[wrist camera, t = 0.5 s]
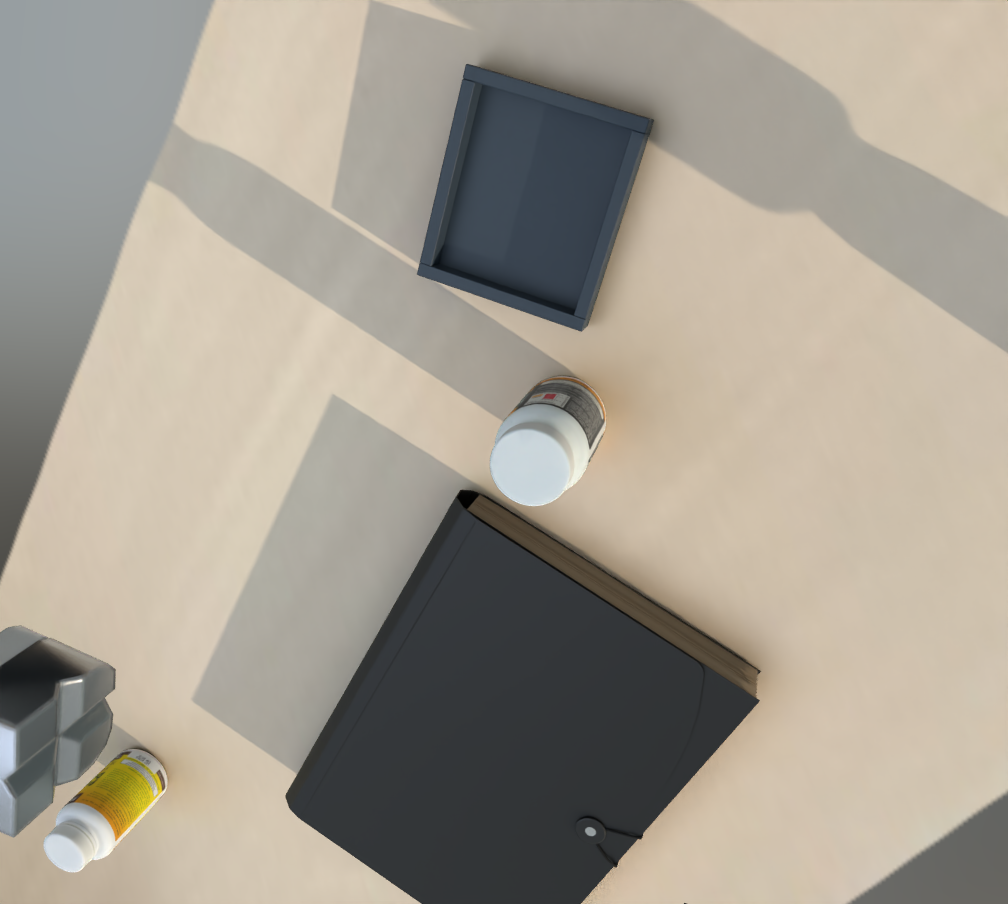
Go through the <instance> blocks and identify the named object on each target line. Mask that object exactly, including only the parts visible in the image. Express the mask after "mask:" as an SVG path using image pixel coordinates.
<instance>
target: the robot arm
mask: <svg viewBox="0 0 1008 904" xmlns="http://www.w3.org/2000/svg"><path fill="white" fill-rule="evenodd" d="M115 671H116V669H114V668H113V667H112V666H111V665H109V664H108V663H106V662H103V661H101V660H99V659H97V658H94V657H92V656H90V655H88V654H85V653H83V652H81V651H79V650H77V649H74V648H72V647H70V646H68V645H65V644H63V643H61V642H59V641H57V640H54V639H52V638H48V637H46V636H44V635H41V634H39V633H37V632H35V631H33V630H30V629H28V628H26V627H24V626H22V625H20V626H14V627H8V628H6V629H5V630H3V631H1V632H0V832H2V833H4V834H7V835H9V836H11V837H15V836H16V835H17V834H18V833H20V832H21V831H22V830H23V829H24V828H25V827H26V826H27V825H28V824H29V823H30V822H32V821H33V820H34V819H35V818H36V817H37V816H38V815H39V814H40V813H41V812H43V811H44V810H45V809H46V808H47V807H48V806H49V805H50V804H51V803H52V802H53V798H54V792H55V786H58V785H61V784H64V783H67V782H71V781H74V780H77V779H79V778H80V777H81V776H82V775H83V774H84V773H85V772H86V771H87V770H88V769H89V768H90V767H91V766H92V765H93V764H94V763H95V761H96V760H97V758H98V756H99V755H100V753H101V752H102V750H103V749H104V747H105V746H106V744H107V741H108V738H109V735H110V732H111V729H112V720H113V713H112V711H111V709H110V707H109V705H108V703H107V701H106V699H105V697H106V696H107V695H108V694H109V693H110V692H112V691H113V690H114V689H115ZM684 904H686V903H684Z"/></svg>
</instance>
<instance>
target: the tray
mask: <svg viewBox="0 0 1008 904" xmlns="http://www.w3.org/2000/svg"><path fill="white" fill-rule="evenodd" d="M463 78H464V79H463V80H462V84H461V88H460V92H459V97H458V101H457V105H456V110H455V114H454V118H453V123H452V127H451V131H450V135H449V140H448V144H447V148H446V153H445V157H444V161H443V165H442V170H441V174H440V178H439V183H438V187H437V191H436V196H435V200H434V204H433V208H432V213H431V217H430V221H429V226H428V230H427V234H426V239H425V243H424V247H423V251H422V256H421V260H420V262H421V263H420V264H419V268H418V273H417V275H419V276H422V277H425V278H428V279H431V280H434V281H437V282H440V283H443V284H445V285H448V286H451V287H454V288H457V289H460V290H463V291H466V292H469V293H471V294H474V295H477V296H480V297H483V298H486V299H489V300H492V301H494V302H497V303H500V304H503V305H506V306H509V307H512V308H515V309H518V310H520V311H523V312H526V313H529V314H532V315H535V316H538V317H541V318H543V319H546V320H549V321H552V322H555V323H558V324H561V325H564V326H567V327H569V328H572V329H575V330H578V331H581V332H582V331H583V330H584V329H585V328H586V326H587V325H588V323H589V320H590V317H591V314H592V311H593V308H594V304H595V301H596V298H597V295H598V292H599V289H600V286H601V283H602V280H603V277H604V273H605V270H606V267H607V264H608V261H609V258H610V255H611V252H612V249H613V246H614V243H615V239H616V236H617V233H618V230H619V227H620V224H621V221H622V218H623V215H624V212H625V208H626V205H627V202H628V199H629V196H630V193H631V190H632V187H633V184H634V181H635V177H636V174H637V171H638V168H639V165H640V162H641V159H642V156H643V153H644V150H645V146H646V143H647V140H648V137H649V134H650V131H651V128H652V125H653V122H654V120H652V119H649V118H646V117H643V116H639V115H636V114H633V113H629V112H626V111H623V110H619V109H616V108H613V107H609V106H606V105H603V104H599V103H596V102H593V101H590V100H586V99H583V98H580V97H576V96H573V95H570V94H566V93H563V92H560V91H556V90H553V89H550V88H546V87H543V86H540V85H537V84H533V83H530V82H527V81H523V80H520V79H517V78H513V77H510V76H507V75H503V74H500V73H497V72H494V71H490V70H487V69H484V68H480V67H477V66H473V65H469V64H466V67H465V71H464V75H463Z"/></svg>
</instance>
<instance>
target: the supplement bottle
mask: <svg viewBox="0 0 1008 904" xmlns="http://www.w3.org/2000/svg"><path fill="white" fill-rule="evenodd" d="M167 784H168V780H167V775H166V772H165V770H164V768H163V766H162V765H161V763H160V762H159V761H158V760H157V759H156V758H155V757H154V756H152V755H151V754H149V753H147V752H145V751H142V750H139V749H129V750H125V751H123V752H122V753H120V754H119V755H118V756H117V757H116V758H115V759H113V760H112V761H111V762H110V763H109V764H108V765H107V766H106V767H105V768H104V769H103V770H102V771H101V772H100V773H99V774H98V775H97V776H96V777H95V778H94V779H92V780H91V781H90V782H89V783H88V784H87V785H86V786H85V787H84V788H83V789H82V790H81V791H80V792H79V793H78V794H77V795H76V796H75V797H73V798H72V799H71V800H70V801H69V802H68V803H67V804H66V805H65V806H64V807H63V808H62V809H61V810H60V812H59V813H58V815H57V819H56V827H55V828H54V829H53V831H52V832H51V833H50V834H49V835H48V836H47V837H46V838H45V840H44V850H45V852H46V854H47V856H48V858H49V859H50V860H51V862H52V863H54V864H55V865H56V866H57V867H59V868H60V869H62V870H65V871H67V872H77V871H80V870H81V869H82V868H83V867H84V866H85V865H86V864H87V863H88V862H90V861H91V860H97V859H101V858H104V857H106V856H107V855H108V854H109V853H110V852H112V850H113V849H114V848H115V847H116V846H117V845H118V844H119V843H120V842H121V841H122V840H123V838H124V837H125V836H126V835H127V834H128V833H129V832H130V831H131V830H132V829H133V828H134V827H135V826H136V824H137V823H138V822H139V821H140V820H141V819H142V818H143V817H144V816H145V815H146V813H147V812H148V811H149V810H150V809H151V808H152V807H153V806H154V805H155V803H156V802H157V801H158V800H159V799H160V798H161V797H162V796H163V794H164V793H165V791H166V789H167Z"/></svg>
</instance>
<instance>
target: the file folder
mask: <svg viewBox="0 0 1008 904" xmlns="http://www.w3.org/2000/svg"><path fill="white" fill-rule="evenodd" d="M760 672H761V671H760V670H758V669H757V668H755V667H753V666H752V665H750V664H749V663H747V662H746V661H744V660H743V659H741V658H739V657H738V656H736V655H735V654H733V653H732V652H730V651H728V650H727V649H725V648H724V647H722V646H721V645H719V644H717V643H716V642H714V641H713V640H711V639H710V638H708V637H706V636H705V635H703V634H702V633H700V632H699V631H697V630H695V629H694V628H692V627H691V626H689V625H688V624H686V623H684V622H683V621H681V620H680V619H678V618H677V617H675V616H673V615H672V614H670V613H669V612H667V611H666V610H664V609H663V608H661V607H659V606H658V605H656V604H655V603H653V602H652V601H650V600H648V599H647V598H645V597H644V596H642V595H641V594H639V593H637V592H636V591H634V590H633V589H631V588H630V587H628V586H626V585H625V584H623V583H622V582H620V581H619V580H617V579H615V578H614V577H612V576H611V575H609V574H608V573H606V572H604V571H603V570H601V569H600V568H598V567H597V566H595V565H594V564H592V563H590V562H589V561H587V560H586V559H584V558H583V557H581V556H579V555H578V554H576V553H575V552H573V551H572V550H570V549H568V548H567V547H565V546H564V545H562V544H561V543H559V542H557V541H556V540H554V539H553V538H551V537H550V536H548V535H546V534H545V533H543V532H542V531H540V530H539V529H537V528H536V527H534V526H532V525H531V524H529V523H528V522H526V521H525V520H523V519H521V518H520V517H518V516H517V515H515V514H514V513H512V512H510V511H509V510H507V509H506V508H504V507H503V506H501V505H499V504H498V503H496V502H495V501H493V500H492V499H490V498H489V497H486V496H485V495H482V494H480V493H477V492H474V491H471V490H460V491H459V493H458V494H457V496H456V498H455V499H454V501H453V503H452V505H451V506H450V508H449V510H448V512H447V513H446V515H445V517H444V519H443V520H442V522H441V524H440V526H439V527H438V529H437V531H436V533H435V534H434V536H433V538H432V540H431V541H430V543H429V545H428V547H427V548H426V550H425V552H424V554H423V555H422V557H421V559H420V561H419V562H418V564H417V566H416V568H415V569H414V571H413V573H412V575H411V576H410V578H409V580H408V582H407V583H406V585H405V587H404V589H403V590H402V592H401V594H400V596H399V597H398V599H397V601H396V603H395V604H394V606H393V608H392V610H391V611H390V613H389V615H388V617H387V618H386V620H385V622H384V624H383V625H382V627H381V629H380V631H379V632H378V634H377V636H376V638H375V639H374V641H373V643H372V645H371V646H370V648H369V650H368V652H367V654H366V655H365V657H364V659H363V661H362V662H361V664H360V666H359V668H358V669H357V671H356V673H355V675H354V676H353V678H352V680H351V682H350V683H349V685H348V687H347V689H346V690H345V692H344V694H343V696H342V697H341V699H340V701H339V703H338V704H337V706H336V708H335V709H334V711H333V713H332V715H331V716H330V718H329V720H328V722H327V723H326V725H325V727H324V729H323V730H322V732H321V734H320V736H319V737H318V739H317V741H316V743H315V744H314V746H313V748H312V750H311V751H310V753H309V755H308V757H307V758H306V760H305V762H304V764H303V765H302V767H301V769H300V771H299V772H298V774H297V776H296V778H295V779H294V781H293V783H292V785H291V786H290V788H289V790H288V792H287V793H286V796H285V797H286V800H287V803H288V805H289V808H290V810H291V811H292V812H293V813H294V814H295V815H296V816H297V817H298V818H300V819H301V820H302V821H304V822H305V823H307V824H308V825H309V826H311V827H312V828H314V829H315V830H317V831H318V832H319V833H321V834H322V835H324V836H325V837H327V838H328V839H329V840H331V841H332V842H334V843H335V844H337V845H338V846H340V847H341V848H342V849H344V850H345V851H347V852H348V853H350V854H351V855H352V856H354V857H355V858H357V859H358V860H360V861H361V862H363V863H364V864H365V865H367V866H368V867H370V868H371V869H373V870H374V871H375V872H377V873H378V874H380V875H381V876H383V877H384V878H386V879H387V880H388V881H390V882H391V883H393V884H394V885H396V886H397V887H398V888H400V889H401V890H403V891H404V892H406V893H407V894H409V895H410V896H411V897H413V898H414V899H416V900H417V901H419V902H420V903H421V904H581V903H582V902H583V901H584V899H585V898H586V897H587V896H588V895H589V894H590V893H591V891H592V890H593V889H594V888H595V887H596V886H597V885H598V884H599V882H600V881H601V880H602V879H603V878H604V877H605V876H606V874H607V873H608V872H609V871H610V870H611V869H612V868H613V867H617V865H618V861H619V860H620V859H621V858H622V856H623V855H624V854H625V853H626V852H627V851H628V850H629V848H630V847H631V846H632V845H633V844H634V843H635V842H636V841H637V839H642V837H643V833H644V831H645V830H646V829H647V828H648V827H649V826H650V825H651V824H652V822H653V821H654V820H655V819H656V818H657V817H658V816H659V815H660V813H661V812H662V811H663V810H664V809H665V808H666V807H667V805H668V804H669V803H670V802H671V801H672V800H673V799H674V798H675V796H676V795H677V794H678V793H679V792H680V791H681V790H682V788H683V787H684V786H685V785H686V784H687V783H688V782H689V781H690V779H691V778H692V777H693V776H694V775H695V774H696V773H697V771H698V770H699V769H700V768H701V767H702V766H703V765H704V764H705V762H706V761H707V760H708V759H709V758H710V757H711V756H712V755H713V753H714V752H715V751H716V750H717V749H718V748H719V747H720V745H721V744H722V743H723V742H724V741H725V740H726V739H727V738H728V736H729V735H730V734H731V733H732V732H733V731H734V730H735V728H736V727H737V726H738V725H739V724H740V723H741V722H742V721H743V719H744V718H745V717H746V716H747V715H748V714H749V713H750V712H751V710H752V709H753V708H754V707H755V706H756V705H757V704H758V702H759V701H760V700H758V699H757V698H756V696H757V695H756V693H757V692H756V690H757V675H758V674H759V673H760Z"/></svg>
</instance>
